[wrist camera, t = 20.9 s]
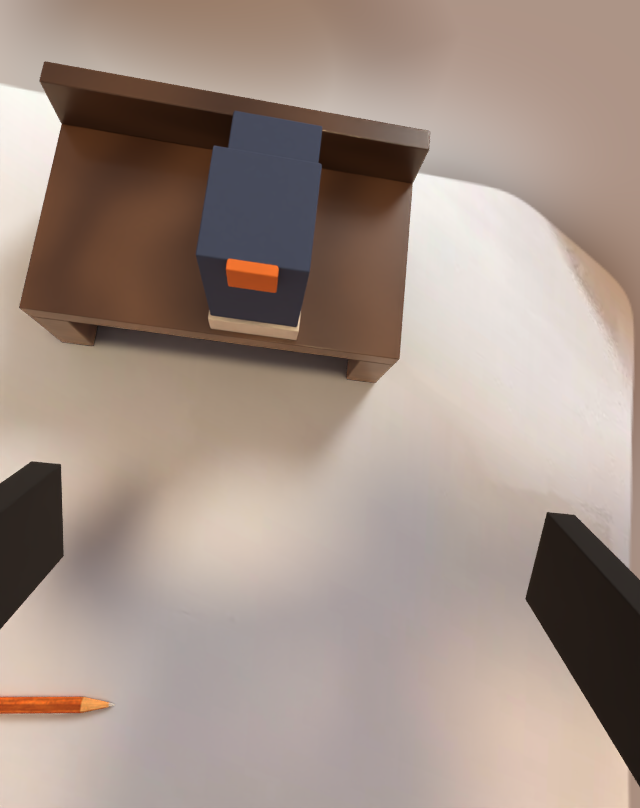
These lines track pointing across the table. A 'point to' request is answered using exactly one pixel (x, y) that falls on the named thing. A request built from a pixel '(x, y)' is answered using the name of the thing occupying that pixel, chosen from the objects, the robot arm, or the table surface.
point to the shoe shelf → (182, 210)
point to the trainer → (260, 225)
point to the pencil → (50, 704)
